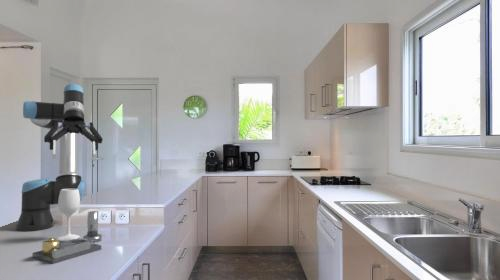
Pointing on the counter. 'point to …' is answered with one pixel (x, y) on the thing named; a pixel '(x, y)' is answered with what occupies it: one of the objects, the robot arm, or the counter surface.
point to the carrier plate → (49, 257)
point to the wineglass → (68, 209)
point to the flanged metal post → (93, 227)
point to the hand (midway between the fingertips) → (74, 156)
